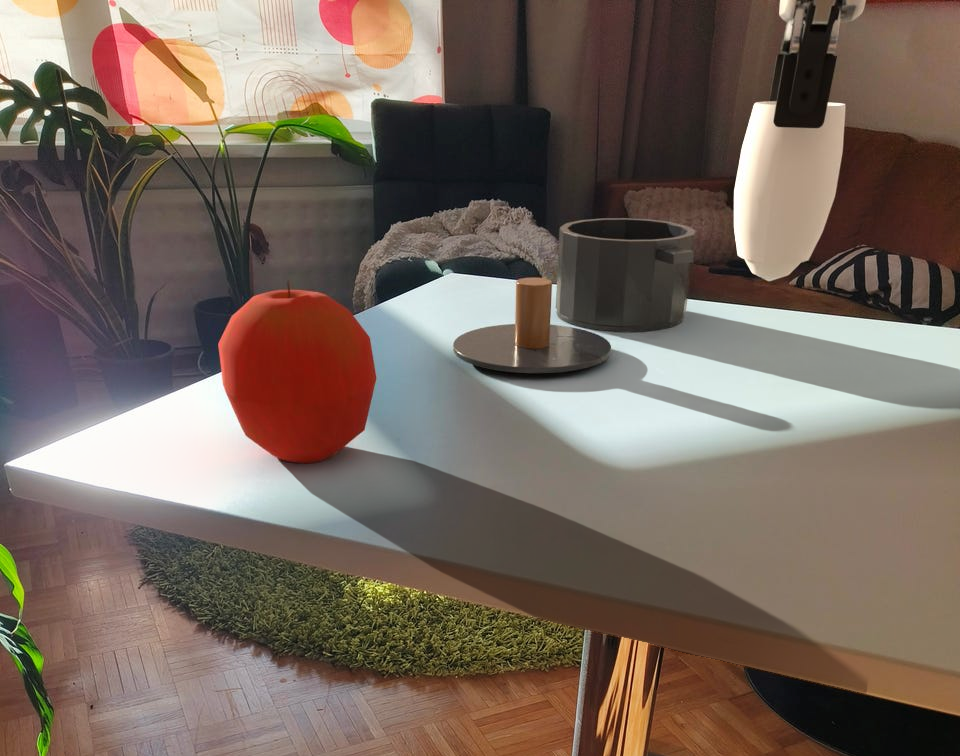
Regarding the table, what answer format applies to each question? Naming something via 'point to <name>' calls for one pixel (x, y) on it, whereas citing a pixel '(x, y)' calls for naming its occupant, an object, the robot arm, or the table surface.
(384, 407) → the table surface
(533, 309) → the lid
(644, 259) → the pot
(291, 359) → the apple
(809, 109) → the robot arm
